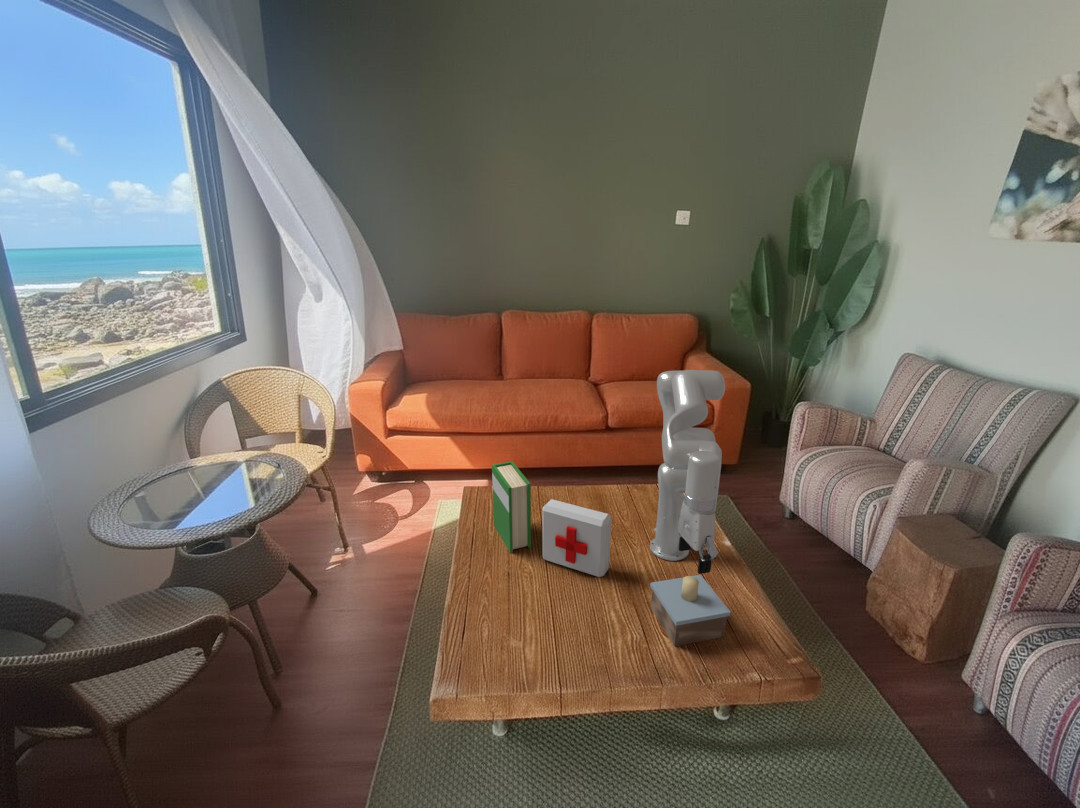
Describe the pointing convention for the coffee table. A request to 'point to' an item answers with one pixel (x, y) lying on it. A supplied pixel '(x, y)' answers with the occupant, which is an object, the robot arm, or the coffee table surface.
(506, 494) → the hardback book
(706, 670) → the coffee table surface
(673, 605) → the lid
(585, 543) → the bevelled white case
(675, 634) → the box
